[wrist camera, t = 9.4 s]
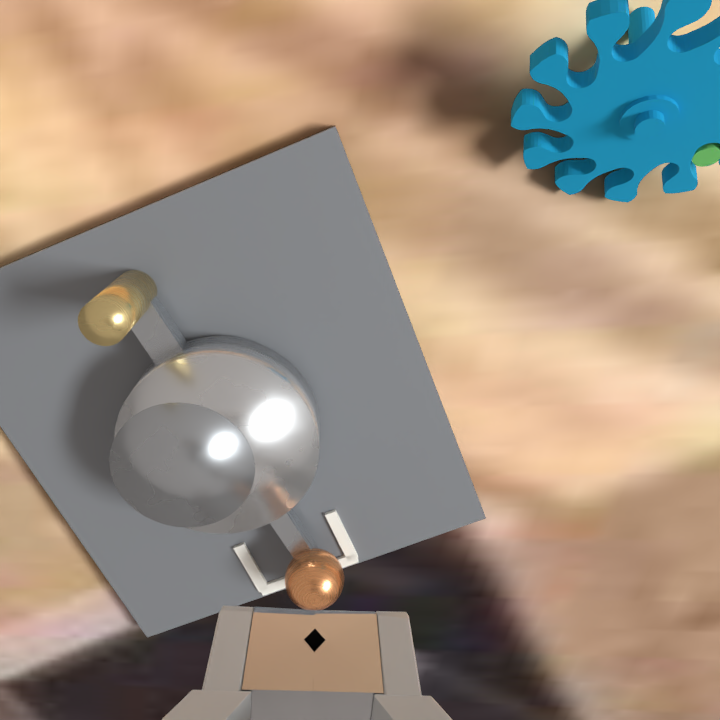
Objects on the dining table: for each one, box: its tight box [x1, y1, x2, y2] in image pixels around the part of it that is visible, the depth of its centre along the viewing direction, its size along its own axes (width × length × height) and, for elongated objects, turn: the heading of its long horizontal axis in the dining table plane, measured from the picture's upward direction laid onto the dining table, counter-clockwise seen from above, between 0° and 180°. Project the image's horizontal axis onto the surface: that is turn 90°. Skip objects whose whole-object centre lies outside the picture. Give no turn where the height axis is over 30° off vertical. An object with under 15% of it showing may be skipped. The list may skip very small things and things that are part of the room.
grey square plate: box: [0, 126, 486, 637], centre depth 31 cm, size 21×20×1 cm
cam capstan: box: [78, 270, 344, 610], centre depth 29 cm, size 10×19×5 cm, turn 27°
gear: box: [511, 0, 720, 202], centre depth 25 cm, size 11×6×10 cm
